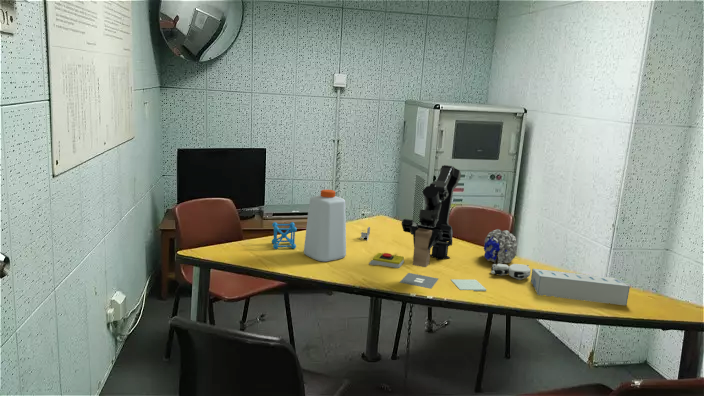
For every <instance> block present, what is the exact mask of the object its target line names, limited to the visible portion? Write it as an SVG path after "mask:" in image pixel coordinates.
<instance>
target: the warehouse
mask: <svg viewBox="0 0 704 396" xmlns="http://www.w3.org/2000/svg"><path fill="white" fill-rule="evenodd" d="M530 277H531V278H530V283H531V284H533V285H532V286H533V288H534V291H535V290H536V291H535V292H537V293H536V294H537V295H536V296H543V295H546V296H545V297H551V296H554V297H555V298H559V297H560V298H561V299H569V300H576V301H577V300H578V301H584V300H585V301H586V302H593V303H594V302H595V303H603V304H609V303H610V305H619V306H627V304H628V299H629V295H630V294H629V293H630V288H631V286H630V285H628V284H626V283H625V282H623V281H621V280H620V279H618V278H616V277H610V276H603V275H594V274H586V273H585V274H584V273H583V274H582V273H576V272H575V273H574V272H566V271H559V270H558V271H557V270H547V269H539V268H532V269H531V274H530Z"/></svg>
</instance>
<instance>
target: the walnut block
mask: <svg viewBox="0 0 704 396" xmlns="http://www.w3.org/2000/svg"><path fill="white" fill-rule="evenodd" d="M431 238H432V230H428V229H422V228H419V229H417V230H416V232H415V243H414V242H413V255H412V257H413V258H412V266H416V267H420V268H421V267H422V268H427V267H428V266H429V264H430V260H431V259H430V258H431V256H430V254H431V249H430V250H428V246H429V243H430V240H431Z"/></svg>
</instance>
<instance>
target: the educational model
mask: <svg viewBox="0 0 704 396" xmlns="http://www.w3.org/2000/svg"><path fill="white" fill-rule="evenodd" d="M483 243H484V244H483V245H484V247H483V251H484V256H483V257H484V258H485V259H486V260H487V261H488V262H489V261H491V262H493V264H496V262H497V264H509V263H511V262H512V261H513V260H514V259H515V258H516V256H517V254H516V252H517V250H518V242H517V238H516V236H514V234H513V233H510V231H509V230H506V229H505V230H501V229H499V228H497V229H495V230H492V231H490V232H489V233H488V234H487V236H486V237H485V239H484V242H483Z"/></svg>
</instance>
